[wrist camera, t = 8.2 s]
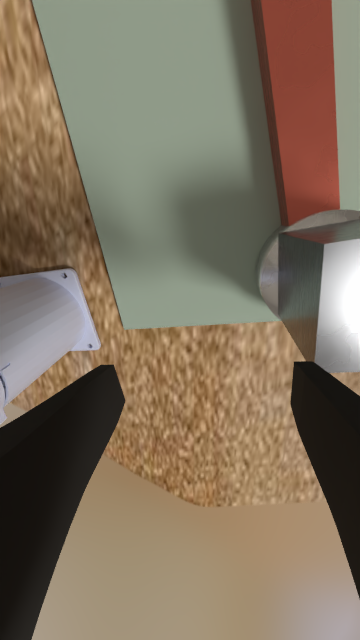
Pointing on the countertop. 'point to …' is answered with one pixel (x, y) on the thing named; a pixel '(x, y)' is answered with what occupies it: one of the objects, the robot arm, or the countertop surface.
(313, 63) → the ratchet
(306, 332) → the brushed grey square block
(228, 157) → the mat
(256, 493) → the countertop surface
